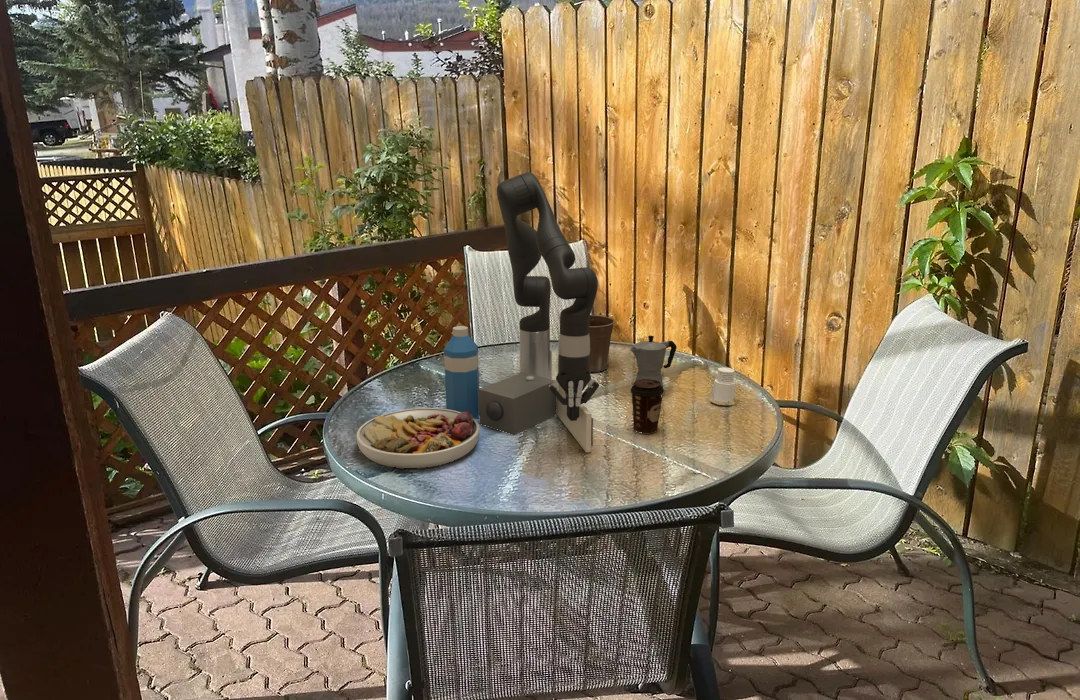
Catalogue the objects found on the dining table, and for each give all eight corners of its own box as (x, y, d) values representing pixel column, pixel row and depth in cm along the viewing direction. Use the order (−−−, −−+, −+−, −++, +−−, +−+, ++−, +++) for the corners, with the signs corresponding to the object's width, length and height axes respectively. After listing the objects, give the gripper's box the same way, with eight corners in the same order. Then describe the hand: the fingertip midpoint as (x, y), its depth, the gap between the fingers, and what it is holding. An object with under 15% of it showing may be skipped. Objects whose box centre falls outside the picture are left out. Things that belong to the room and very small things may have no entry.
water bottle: (486, 412, 213) (484, 325, 206) (469, 424, 205) (466, 334, 198) (457, 407, 217) (454, 322, 210) (439, 418, 209) (435, 330, 202)
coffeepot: (637, 402, 220) (639, 342, 215) (621, 392, 228) (622, 334, 223) (682, 395, 226) (685, 336, 221) (665, 385, 234) (668, 328, 229)
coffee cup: (665, 426, 203) (667, 379, 199) (659, 437, 195) (661, 389, 192) (633, 422, 206) (634, 376, 202) (626, 433, 198) (627, 386, 194)
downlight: (718, 408, 215) (722, 374, 212) (703, 400, 221) (707, 367, 218) (741, 405, 218) (745, 372, 215) (726, 397, 224) (729, 365, 222)
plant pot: (588, 357, 262) (589, 311, 257) (624, 368, 251) (625, 320, 246) (554, 367, 252) (554, 319, 247) (589, 379, 240) (590, 329, 236)
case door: (555, 413, 211) (555, 379, 208) (562, 413, 211) (562, 378, 208) (585, 452, 186) (586, 414, 183) (592, 451, 187) (593, 413, 184)
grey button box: (522, 405, 218) (522, 369, 215) (556, 414, 211) (556, 377, 208) (476, 425, 204) (475, 387, 201) (510, 436, 197) (510, 397, 194)
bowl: (371, 484, 172) (369, 451, 170) (348, 435, 199) (345, 407, 196) (496, 461, 184) (496, 430, 181) (458, 418, 210) (457, 391, 208)
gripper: (595, 345, 187) (594, 412, 192) (543, 349, 184) (542, 416, 189) (605, 354, 180) (603, 423, 185) (551, 357, 177) (550, 427, 182)
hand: (572, 419), depth 187 cm, fingers closed
